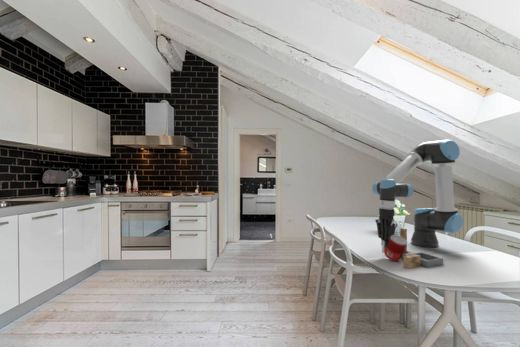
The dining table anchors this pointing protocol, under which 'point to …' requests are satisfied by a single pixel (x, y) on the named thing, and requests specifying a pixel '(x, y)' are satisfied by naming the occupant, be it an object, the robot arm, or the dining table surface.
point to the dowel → (404, 236)
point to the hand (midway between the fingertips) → (384, 252)
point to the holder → (406, 253)
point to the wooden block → (411, 261)
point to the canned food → (395, 247)
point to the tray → (428, 259)
